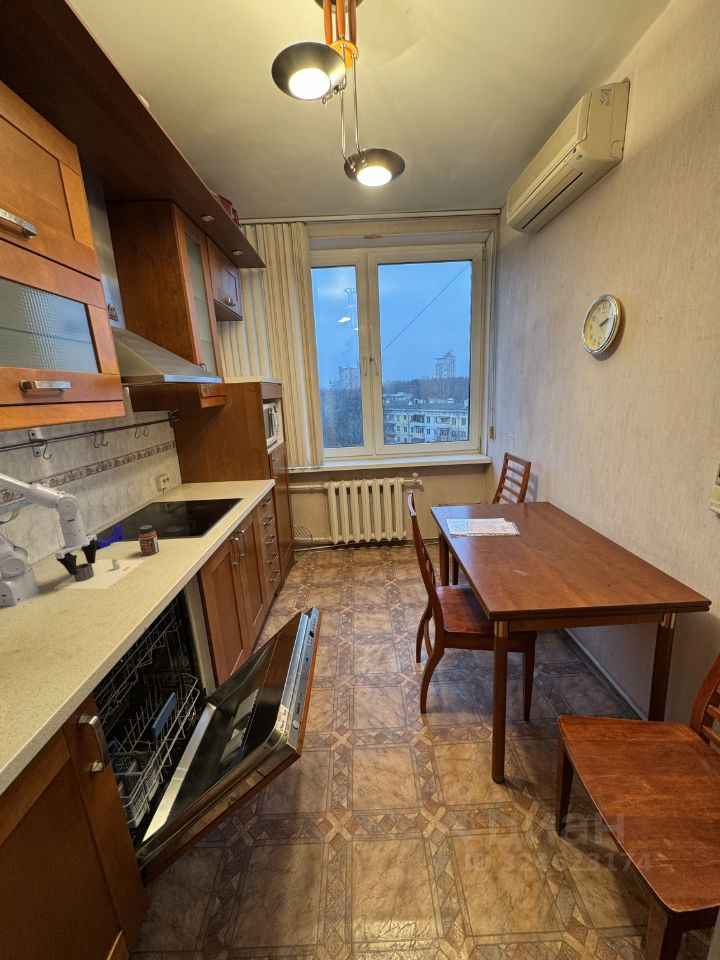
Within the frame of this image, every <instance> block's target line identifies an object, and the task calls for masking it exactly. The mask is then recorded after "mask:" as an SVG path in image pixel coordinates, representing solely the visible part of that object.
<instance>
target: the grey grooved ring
mask: <svg viewBox="0 0 720 960" xmlns="http://www.w3.org/2000/svg"><path fill="white" fill-rule="evenodd" d="M76 566H77V574H76V575H73V576H74V578H75V581H85V580H88V579H90V578H92V577H93V576H94V571H93V567H92V564H91V563H88V562H86V563H79V564H76Z"/></svg>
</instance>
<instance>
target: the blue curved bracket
mask: <svg viewBox="0 0 720 960" xmlns="http://www.w3.org/2000/svg"><path fill="white" fill-rule="evenodd" d="M112 529H113V530H112V533H111V535H110V536H109V537H108V538H106V539H104V540H98V539H97V540H95V541H98V542H99V545H98V547H97V550H96V551H99V550H101V549H104V548H107V547H109V546H112V544H114V543H117V542H119V540H120V541H123V540H124V534H123V530H122V526H121V525H118V524H117V525H114V526H113V528H112ZM91 534H92V533H88V534H87V535H86V536H88V535H91ZM118 539H119V540H118ZM122 539H123V540H122Z"/></svg>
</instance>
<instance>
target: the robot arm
mask: <svg viewBox="0 0 720 960" xmlns="http://www.w3.org/2000/svg"><path fill="white" fill-rule="evenodd" d="M0 488H2V489H4V490H8V491H11V492H13V493H14V492H15V493H18V494H21V495H23V496H24V497H25V500H26V501H27V502H31V503H34V504H37V505H39V506H43V507H44V508H45V507H46V508H48V509H55V511H56V513H58V516H59V519H58V521H59V524H60V525H59V526H60V528H61V529H60V530H61V533H62V537H63V540H64V546H62V547H61V548H60V549H59V550H58V551H56V552H55V553H54V555H55V559H56V561H58V562H59V563H60V564H62V566H63V567H64V568H65V569H66V571H67V572H68V574H69V575H70V576H74V575H76V574H77V558H78V555H77V554H71V553H73V552H75V551H77V550H79V549H81V550H82V552H83V554H84V556H85V557H84V558H85V560H86V563H91V564H94V563H95V562H96V556H97V551H98V550H97V547H98V545H99V542H98V541H99V540H98V537H97V534H96V533H95V534H93V533H90V534H91V535H89V534H87V533H86V531H85V528H84V521H83V518H82V515H81V511H80V503H79V502H78V500H77V497H75V496H74V495H73V494H71V493H70V492H66V491H64V490H61V491H60V490H57V489H54V488H51V487H49V485H48V484H47V483H44V482H43V483H42V484H41V483H39V482H38V483H33V484H29V483H26V482H24V481H20V480H18V479H16V478H13V477H11V476H8V475H6V474H3V473H1V472H0ZM86 534H87V535H88V536H86ZM95 540H97V541H95ZM28 555H29V553H28V551H27V550H26V548H24V547H22V546H18V545H17V544H15V543H14V542H13V541H11V540H9V539H8V538H7V537H5V535H4V534H3V533H2V532H0V606H11V607H12V606H13V607H14V606H15V607H17V605H19V604H21V603H23V602H24V601H26V600H28V599H30V598H32V597H35V596H36V595H38V593H39V591H40V589H39V587H38V583H37V579H36V575H35V571H34V568H33V565H32V564H30V563H28Z"/></svg>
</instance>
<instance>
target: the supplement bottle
mask: <svg viewBox="0 0 720 960" xmlns="http://www.w3.org/2000/svg"><path fill="white" fill-rule="evenodd" d="M139 530H140V531H139V533H138V542H139V547H140V553H141V556H143V557H151V556H154V555H156V554H158V553H159V552H160V549H159V544H158V543H159V541H158V536H157V532H156V530H154V529H153V526H152V525H142V526H141V527H139Z"/></svg>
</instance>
